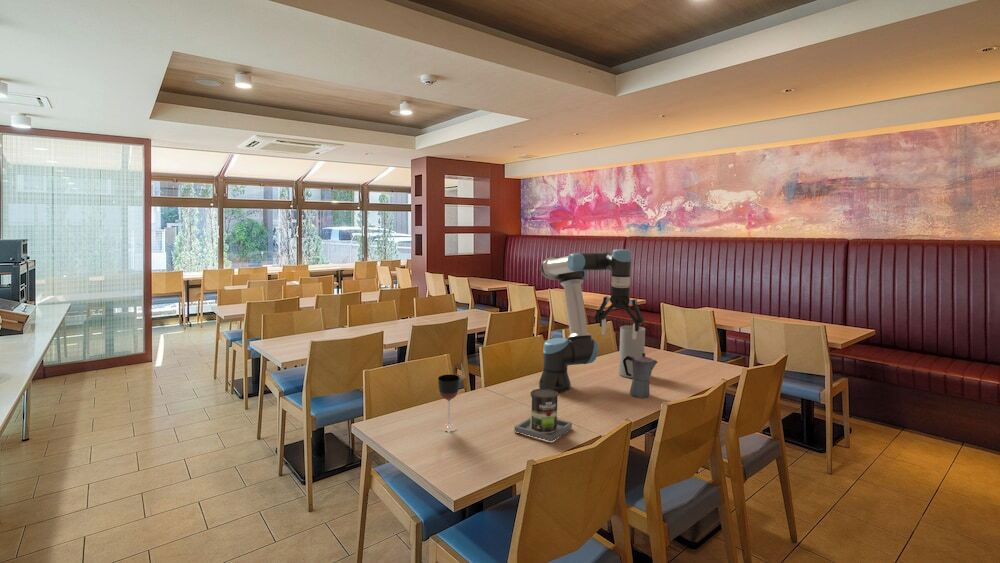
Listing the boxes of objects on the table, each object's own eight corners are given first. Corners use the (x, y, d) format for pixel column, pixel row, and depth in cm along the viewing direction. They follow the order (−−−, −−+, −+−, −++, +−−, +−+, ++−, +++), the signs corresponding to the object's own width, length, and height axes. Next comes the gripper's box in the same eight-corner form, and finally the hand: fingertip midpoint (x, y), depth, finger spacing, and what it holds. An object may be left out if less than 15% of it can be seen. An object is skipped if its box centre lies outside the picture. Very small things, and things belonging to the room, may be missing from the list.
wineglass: (459, 423, 200) (459, 374, 197) (458, 432, 191) (458, 381, 189) (439, 423, 199) (439, 374, 197) (437, 432, 191) (437, 381, 188)
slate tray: (514, 432, 191) (514, 426, 191) (535, 419, 204) (536, 413, 204) (551, 443, 182) (551, 437, 182) (571, 428, 195) (571, 422, 195)
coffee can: (561, 432, 190) (562, 396, 188) (535, 435, 187) (536, 398, 185) (551, 422, 199) (551, 387, 198) (526, 424, 197) (526, 389, 195)
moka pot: (657, 399, 228) (659, 356, 226) (622, 397, 231) (623, 354, 229) (655, 392, 237) (656, 351, 235) (621, 390, 240) (622, 349, 238)
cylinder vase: (628, 370, 274) (630, 324, 271) (648, 375, 264) (650, 328, 261) (613, 374, 266) (615, 327, 263) (633, 380, 256) (635, 331, 253)
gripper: (588, 285, 214) (587, 334, 217) (647, 290, 200) (644, 342, 203) (596, 283, 220) (594, 331, 223) (653, 288, 206) (650, 338, 209)
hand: (618, 336), depth 213 cm, fingers open, 13 cm apart
